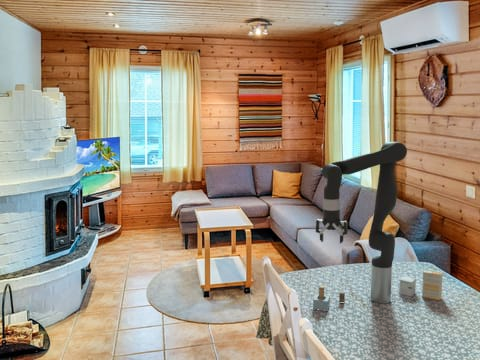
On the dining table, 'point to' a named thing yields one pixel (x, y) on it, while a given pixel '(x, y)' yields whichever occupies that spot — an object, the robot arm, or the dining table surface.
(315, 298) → the hole block
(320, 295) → the long dowel
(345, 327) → the dining table surface
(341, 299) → the short dowel
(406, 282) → the skincare box
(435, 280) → the supplement box
